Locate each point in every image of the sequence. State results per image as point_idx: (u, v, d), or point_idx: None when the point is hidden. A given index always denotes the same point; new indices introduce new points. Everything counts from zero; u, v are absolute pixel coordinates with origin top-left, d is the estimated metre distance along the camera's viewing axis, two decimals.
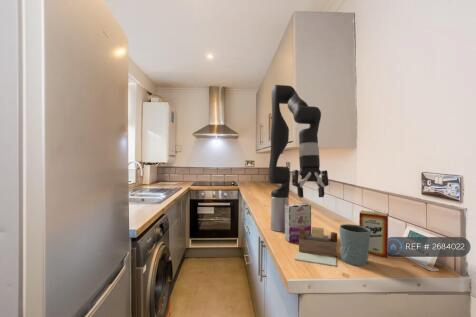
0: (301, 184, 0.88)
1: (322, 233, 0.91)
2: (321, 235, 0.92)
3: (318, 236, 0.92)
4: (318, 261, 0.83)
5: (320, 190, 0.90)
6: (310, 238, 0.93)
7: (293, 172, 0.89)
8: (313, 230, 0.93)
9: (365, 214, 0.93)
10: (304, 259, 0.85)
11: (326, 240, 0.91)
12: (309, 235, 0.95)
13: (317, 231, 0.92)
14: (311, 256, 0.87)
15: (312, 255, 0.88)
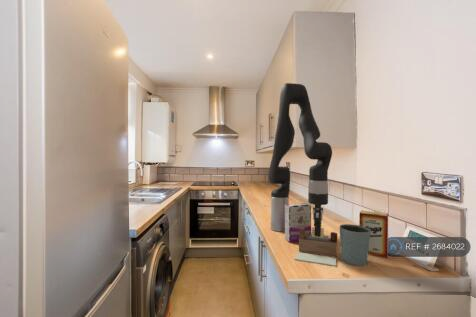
0: None
1: (322, 233, 0.91)
2: (321, 235, 0.92)
3: None
4: (318, 261, 0.83)
5: None
6: (310, 238, 0.93)
7: (316, 215, 0.88)
8: (313, 230, 0.93)
9: (365, 214, 0.93)
10: (304, 259, 0.85)
11: (326, 240, 0.91)
12: (309, 235, 0.95)
13: None
14: (311, 256, 0.87)
15: (312, 255, 0.88)
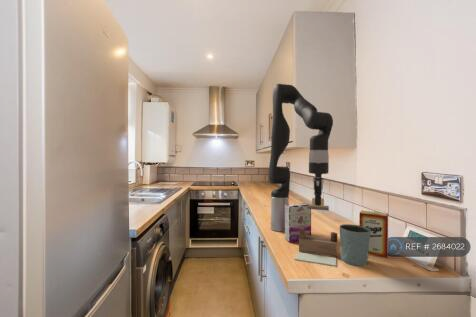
0: (321, 193, 0.91)
1: (322, 202, 0.92)
2: (321, 204, 0.92)
3: None
4: (318, 261, 0.83)
5: None
6: (310, 207, 0.93)
7: (316, 183, 0.88)
8: (313, 199, 0.93)
9: (365, 214, 0.93)
10: (304, 259, 0.85)
11: (326, 209, 0.91)
12: (309, 205, 0.95)
13: None
14: (311, 256, 0.87)
15: (312, 255, 0.88)
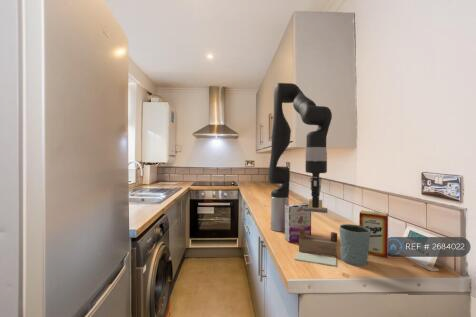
0: (319, 194, 0.84)
1: (320, 204, 0.84)
2: (319, 206, 0.84)
3: None
4: (318, 261, 0.83)
5: None
6: (307, 210, 0.85)
7: (314, 183, 0.80)
8: (311, 201, 0.85)
9: (365, 214, 0.93)
10: (304, 259, 0.85)
11: (325, 211, 0.83)
12: (306, 207, 0.87)
13: None
14: (311, 256, 0.87)
15: (312, 255, 0.88)
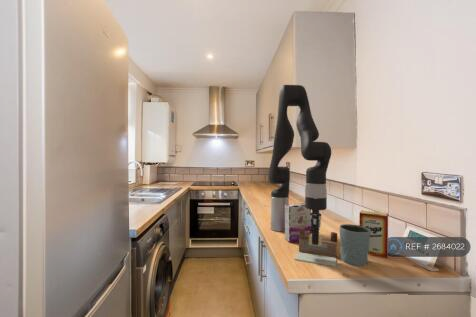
0: None
1: (320, 241, 0.84)
2: (319, 243, 0.84)
3: None
4: (318, 261, 0.83)
5: None
6: (307, 246, 0.85)
7: (313, 222, 0.80)
8: (310, 238, 0.85)
9: (365, 214, 0.93)
10: (304, 259, 0.85)
11: (324, 249, 0.83)
12: (306, 243, 0.87)
13: None
14: (311, 256, 0.87)
15: (312, 255, 0.88)
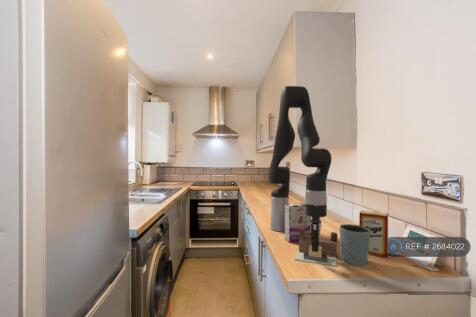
0: None
1: (320, 252, 0.84)
2: (319, 254, 0.84)
3: (316, 255, 0.84)
4: (318, 261, 0.83)
5: None
6: (307, 257, 0.85)
7: (313, 227, 0.80)
8: (310, 249, 0.85)
9: (365, 214, 0.93)
10: (304, 259, 0.85)
11: (324, 260, 0.83)
12: (306, 254, 0.87)
13: None
14: None
15: None
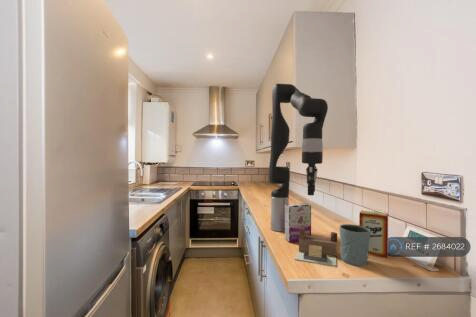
0: None
1: (320, 252, 0.84)
2: (319, 254, 0.84)
3: (316, 255, 0.84)
4: (318, 261, 0.83)
5: None
6: (307, 257, 0.85)
7: (309, 169, 0.83)
8: (310, 249, 0.85)
9: (365, 214, 0.93)
10: (304, 259, 0.85)
11: (324, 260, 0.83)
12: (306, 254, 0.87)
13: (315, 250, 0.84)
14: None
15: None
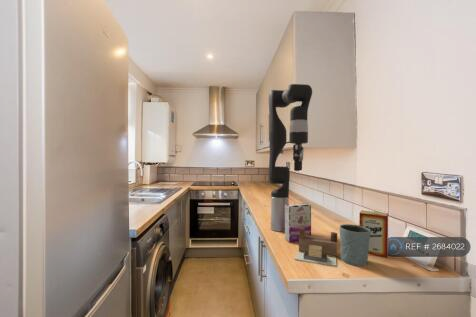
0: (300, 158, 0.93)
1: (320, 252, 0.84)
2: (319, 254, 0.84)
3: (316, 255, 0.84)
4: (318, 261, 0.83)
5: (300, 164, 1.02)
6: (307, 257, 0.85)
7: (295, 146, 0.92)
8: (310, 249, 0.85)
9: (365, 214, 0.93)
10: (304, 259, 0.85)
11: (324, 260, 0.83)
12: (306, 254, 0.87)
13: (315, 250, 0.84)
14: None
15: None
